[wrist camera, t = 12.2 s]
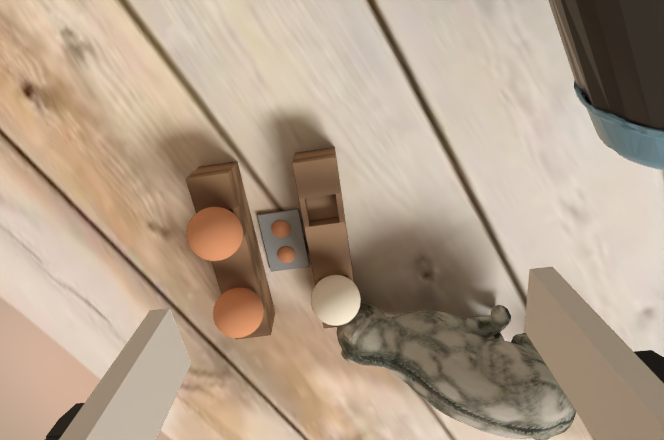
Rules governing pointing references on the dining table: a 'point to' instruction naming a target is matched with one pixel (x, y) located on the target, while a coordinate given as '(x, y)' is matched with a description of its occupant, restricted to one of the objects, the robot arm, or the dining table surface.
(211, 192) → the rack
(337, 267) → the rack
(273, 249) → the card
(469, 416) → the figurine
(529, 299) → the robot arm
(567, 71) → the dining table surface
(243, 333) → the rust ball
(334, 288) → the cream ball
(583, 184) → the dining table surface
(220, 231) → the rust ball
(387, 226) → the dining table surface
